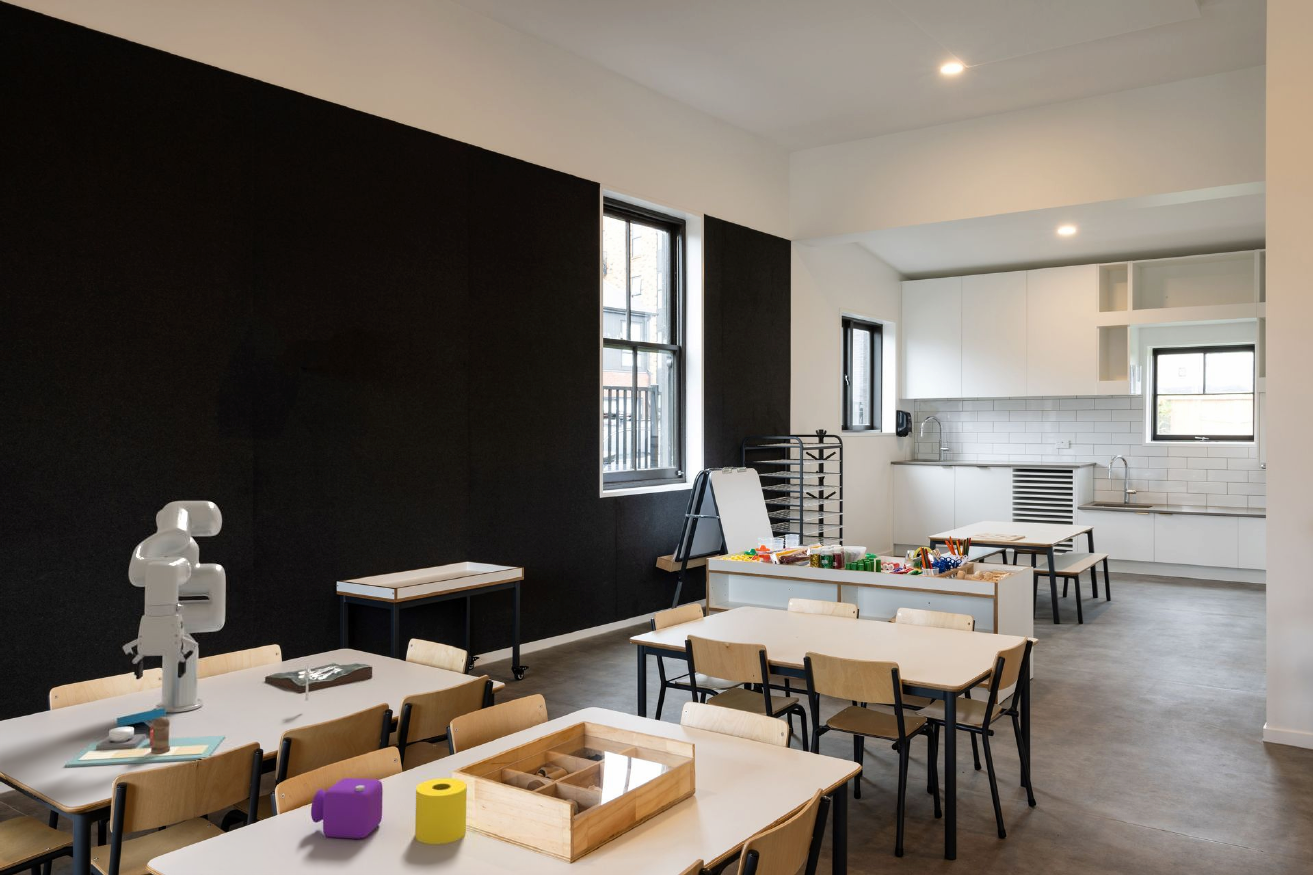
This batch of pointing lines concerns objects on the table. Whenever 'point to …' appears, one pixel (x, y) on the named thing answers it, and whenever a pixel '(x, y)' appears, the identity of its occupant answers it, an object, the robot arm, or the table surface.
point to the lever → (142, 718)
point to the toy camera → (349, 808)
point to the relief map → (321, 677)
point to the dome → (121, 734)
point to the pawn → (160, 736)
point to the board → (144, 751)
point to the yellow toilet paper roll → (440, 811)
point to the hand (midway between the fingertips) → (160, 677)
